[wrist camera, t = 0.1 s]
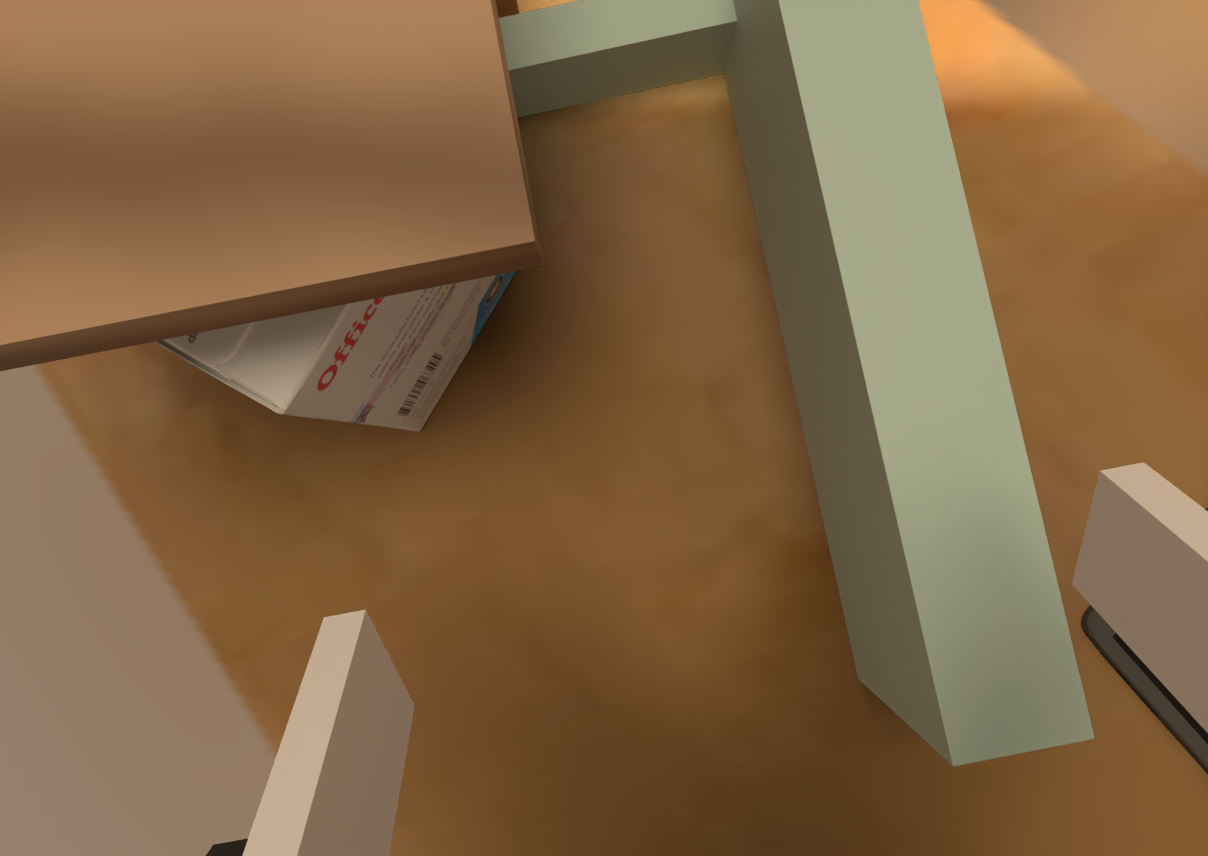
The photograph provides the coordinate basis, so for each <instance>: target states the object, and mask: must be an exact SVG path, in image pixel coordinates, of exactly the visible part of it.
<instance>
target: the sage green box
mask: <svg viewBox="0 0 1208 856" xmlns="http://www.w3.org/2000/svg"><path fill="white" fill-rule="evenodd" d="M499 22H500V27H501V33H502V38H503V44H504V49H505V54H506V60H507V65H508V70H509V76H510V81H511V86H512V92H513V97H514V103H515V108H516V113H517V118H519V117H523V116H528V115H533V114H537V113H542V112H547V111H551V110H556V109H560V108H565V107H570V106H574V105H579V104H584V103H588V102H593V101H598V100H602V99H607V98H612V97H616V96H621V95H625V94H630V93H635V92H639V91H644V90H649V89H653V88H658V87H663V86H667V85H672V84H676V83H681V82H686V81H690V80H695V79H700V78H704V77H709V76H714V75H718V74H723V73H724V77H725V82H726V86H727V91H728V95H729V100H730V104H731V109H732V113H733V118H734V122H735V127H736V131H737V136H738V140H739V145H740V149H741V154H742V158H743V163H744V167H745V172H746V176H747V181H748V185H749V190H750V194H751V199H752V203H753V208H754V212H755V217H756V221H757V226H758V230H759V235H760V239H761V244H762V248H763V253H764V257H765V262H766V266H767V271H768V275H769V280H770V284H771V289H772V293H773V298H774V302H775V307H776V311H777V316H778V320H779V325H780V329H781V334H782V338H783V343H784V347H785V352H786V356H787V361H788V365H789V370H790V374H791V379H792V383H793V388H794V392H795V397H796V402H797V406H798V411H799V415H800V420H801V424H802V429H803V433H804V438H805V442H806V447H807V451H808V456H809V460H810V465H811V469H812V474H813V478H814V483H815V487H816V492H817V496H818V501H819V505H820V510H821V514H822V519H823V523H824V528H825V532H826V537H827V541H828V546H829V550H830V555H831V559H832V564H833V568H834V573H835V577H836V582H837V586H838V591H839V595H840V600H841V604H842V609H843V613H844V618H845V622H846V627H847V631H848V636H849V640H850V645H851V649H852V654H853V658H854V663H855V667H856V672H857V676H858V679H859V680H860V681H861V682H862V683H863V684H864V685H865V686H866V687H867V688H868V689H870V690H871V691H872V692H873V693H874V694H875V695H876V696H877V697H878V698H879V699H880V700H881V701H883V702H884V703H885V704H886V705H887V706H888V707H889V708H890V709H891V710H892V711H893V712H894V713H896V714H897V715H898V716H899V717H900V718H901V719H902V720H903V721H904V722H905V723H906V724H907V725H909V726H910V727H911V728H912V729H913V730H914V731H915V732H916V733H917V734H918V735H919V736H920V737H922V738H923V739H924V740H925V741H926V742H927V743H928V744H929V745H930V746H931V747H932V748H933V749H935V750H936V751H937V752H938V753H939V754H940V755H941V756H942V757H943V758H944V759H945V760H946V761H948V762H949V763H950V764H951V765H952V766H958V765H963V764H969V763H974V762H979V761H984V760H989V759H994V758H999V757H1004V756H1009V755H1014V754H1019V753H1024V752H1029V751H1034V750H1039V749H1044V748H1049V747H1054V746H1060V745H1065V744H1070V743H1075V742H1080V741H1085V740H1090V739H1095V737H1094V733H1093V729H1092V725H1091V721H1090V717H1089V712H1088V708H1087V704H1086V700H1085V696H1084V691H1083V687H1082V683H1081V679H1080V675H1079V671H1078V666H1077V662H1076V658H1075V654H1074V650H1073V645H1072V641H1071V637H1070V633H1069V629H1068V624H1067V620H1066V616H1065V612H1064V608H1063V604H1062V599H1061V595H1060V591H1059V587H1058V583H1057V578H1056V574H1055V570H1054V566H1053V562H1052V558H1051V553H1050V549H1049V545H1048V541H1047V537H1046V532H1045V528H1044V524H1043V520H1042V516H1041V511H1040V507H1039V503H1038V499H1037V495H1036V491H1035V486H1034V482H1033V478H1032V474H1031V470H1030V465H1029V461H1028V457H1027V453H1026V449H1025V445H1024V440H1023V436H1022V432H1021V428H1020V424H1019V419H1018V415H1017V411H1016V407H1015V403H1014V398H1013V394H1012V390H1011V386H1010V382H1009V378H1008V373H1007V369H1006V365H1005V361H1004V357H1003V352H1002V348H1001V344H1000V340H999V336H998V332H997V327H996V323H995V319H994V315H993V311H992V306H991V302H990V298H989V294H988V290H987V285H986V281H985V277H984V273H983V269H982V265H981V260H980V256H979V252H978V248H977V244H976V239H975V235H974V231H973V227H972V223H971V219H970V214H969V210H968V206H967V202H966V198H965V193H964V189H963V185H962V181H961V177H960V172H959V168H958V164H957V160H956V156H955V152H954V147H953V143H952V139H951V135H950V131H949V126H948V122H947V118H946V114H945V110H944V106H943V101H942V97H941V93H940V89H939V85H938V80H937V76H936V72H935V68H934V64H933V60H932V55H931V51H930V47H929V43H928V39H927V34H926V30H925V26H924V22H923V18H922V13H921V9H920V5H919V1H918V0H580V1H575V2H570V3H566V4H561V5H557V6H552V7H548V8H543V9H538V10H534V11H529V12H525V13H520V14H516V15H511V16H506V17H502V18H499Z"/></svg>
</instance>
